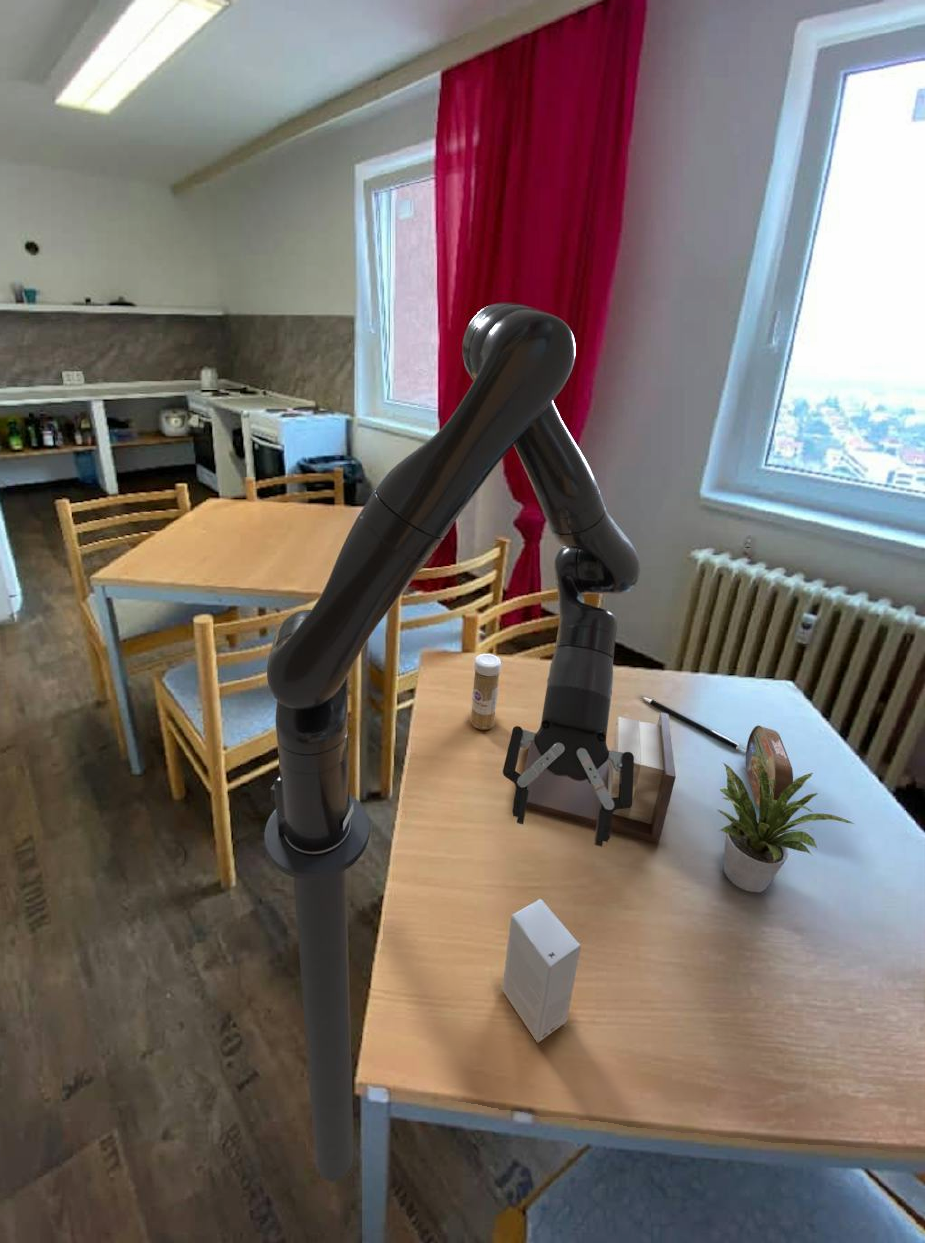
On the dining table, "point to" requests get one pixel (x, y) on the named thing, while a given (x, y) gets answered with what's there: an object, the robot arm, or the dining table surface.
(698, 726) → the pen
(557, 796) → the book rack
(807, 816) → the house plant
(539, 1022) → the cosmetic box
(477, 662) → the sprinkles bottle
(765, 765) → the tin
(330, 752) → the robot arm
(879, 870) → the dining table surface
